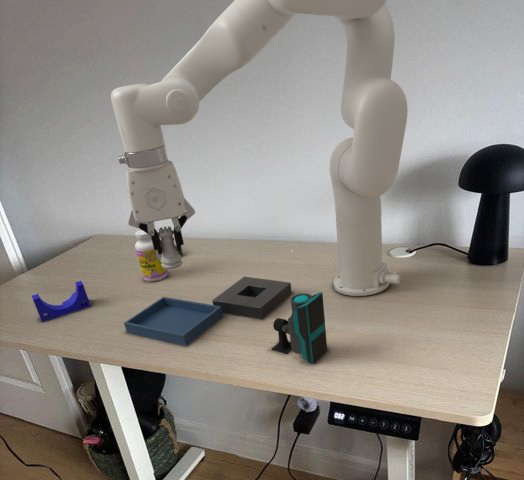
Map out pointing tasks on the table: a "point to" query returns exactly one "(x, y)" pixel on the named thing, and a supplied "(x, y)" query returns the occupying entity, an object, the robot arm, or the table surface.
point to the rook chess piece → (169, 249)
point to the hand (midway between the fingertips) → (170, 249)
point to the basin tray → (174, 320)
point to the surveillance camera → (303, 328)
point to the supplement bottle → (149, 258)
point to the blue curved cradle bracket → (70, 305)
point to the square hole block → (258, 307)
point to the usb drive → (176, 250)
